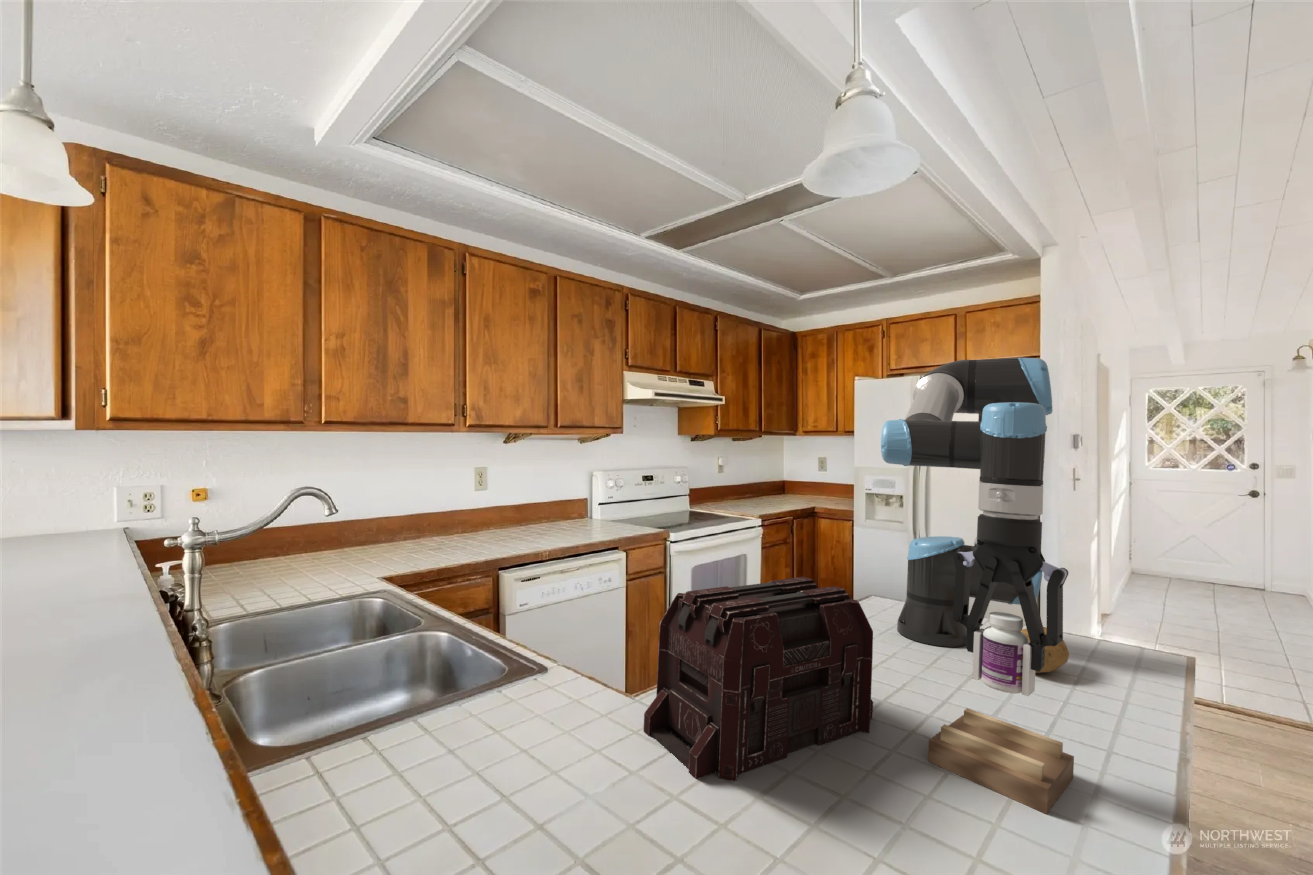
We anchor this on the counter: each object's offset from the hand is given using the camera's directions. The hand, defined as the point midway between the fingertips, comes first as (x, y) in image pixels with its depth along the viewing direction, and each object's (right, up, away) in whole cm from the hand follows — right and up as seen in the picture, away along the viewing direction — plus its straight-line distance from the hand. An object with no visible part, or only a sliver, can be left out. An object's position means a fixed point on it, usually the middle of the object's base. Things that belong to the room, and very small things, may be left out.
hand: (1002, 684), depth 77 cm
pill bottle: (0, 0, 0) cm, 1 cm away
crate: (-31, -11, +10) cm, 34 cm away
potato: (+30, -14, +37) cm, 49 cm away
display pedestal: (0, -12, 0) cm, 12 cm away
